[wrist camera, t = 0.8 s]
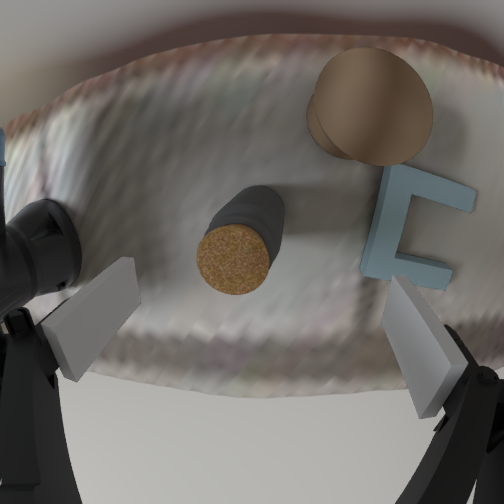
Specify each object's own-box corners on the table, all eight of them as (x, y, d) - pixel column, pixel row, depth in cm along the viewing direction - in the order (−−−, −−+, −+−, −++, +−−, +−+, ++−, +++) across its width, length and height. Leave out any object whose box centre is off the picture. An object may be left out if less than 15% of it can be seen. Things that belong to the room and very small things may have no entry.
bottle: (292, 224, 32) (292, 286, 18) (245, 243, 33) (212, 312, 19) (272, 176, 30) (254, 201, 16) (224, 197, 32) (172, 238, 18)
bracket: (359, 267, 32) (363, 276, 30) (385, 160, 28) (392, 161, 25) (438, 282, 32) (445, 290, 29) (466, 187, 27) (476, 191, 25)
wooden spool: (300, 150, 29) (306, 150, 18) (312, 72, 25) (322, 34, 15) (379, 167, 28) (423, 179, 18) (390, 92, 25) (436, 70, 14)
